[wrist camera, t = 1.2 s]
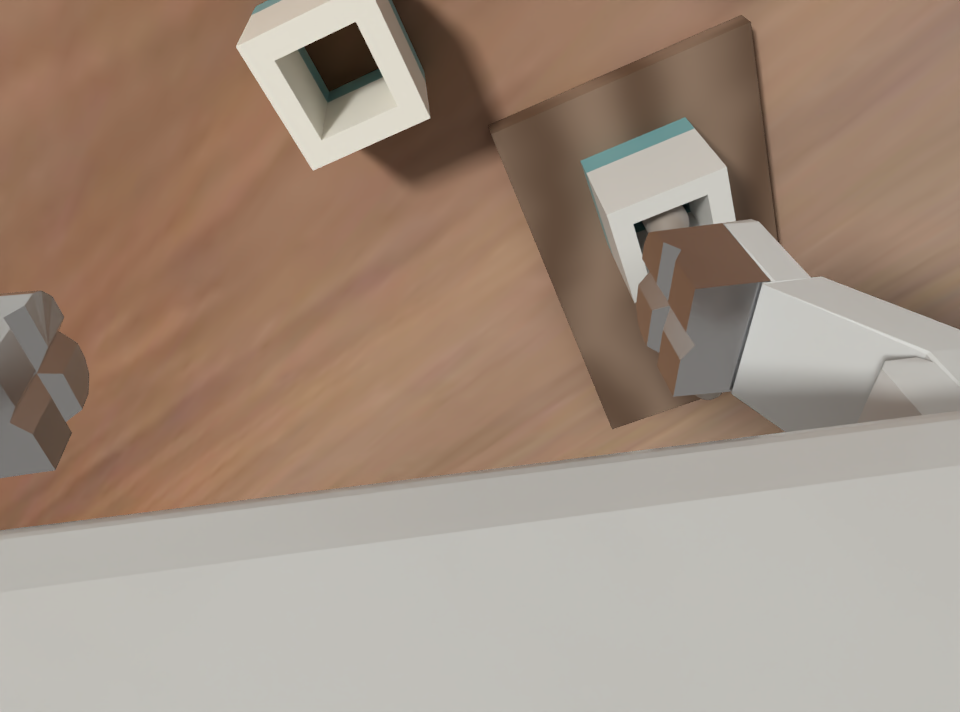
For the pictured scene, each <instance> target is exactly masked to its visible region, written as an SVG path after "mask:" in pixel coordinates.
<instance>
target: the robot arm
mask: <svg viewBox="0 0 960 712" xmlns="http://www.w3.org/2000/svg"><path fill="white" fill-rule="evenodd" d="M642 260H643V261H644V263H645V265H646V266H647V268H648V270H649V273H648V274H647V275H646V276H645V278H644V279H643V280H642V281H641V282H640V283H639V285H638V292H637V302H636V307H637V320H638V325H639V328H640V332H641V335H642V337H643V339H644V341H645V343H646V345H647V346H648V347H650V348H651V349H653V350H655V351H657V352H658V353H659V357H658V363H657V367H658V369H659V371H660V373H661V374H662V376H663V378H664V380H665V382H666V384H667V386H668V388H669V390H670V392H671V393H672V395H673V397H676V396H686V395H697V394H708V393H719V392H730V391H732V393H731V394H732V395H734V396H735V397H737V398H738V399H739V400H741V401H742V402H744V403H745V404H747V405H748V406H749V407H751V408H752V409H754V410H755V411H757V412H758V413H759V414H761V415H762V416H764V417H765V418H766V419H768V420H769V421H771V422H772V423H774V424H775V425H776V426H778V427H779V428H781V429H782V430H784V431H785V432H783V433H775V434H767V435H759V436H751V437H743V438H735V439H727V440H719V441H711V442H703V443H695V444H687V445H679V446H672V447H664V448H656V449H648V450H640V451H632V452H624V453H616V454H608V455H600V456H592V457H584V458H576V459H568V460H560V461H552V462H544V463H536V464H528V465H520V466H512V467H504V468H496V469H488V470H480V471H472V472H464V473H456V474H448V475H440V476H432V477H424V478H416V479H408V480H400V481H392V482H384V483H376V484H368V485H360V486H352V487H344V488H336V489H328V490H320V491H312V492H304V493H296V494H288V495H280V496H272V497H264V498H256V499H248V500H240V501H232V502H224V503H216V504H208V505H200V506H192V507H184V508H176V509H168V510H160V511H152V512H144V513H136V514H128V515H120V516H112V517H104V518H96V519H88V520H80V521H72V522H64V523H56V524H48V525H40V526H32V527H24V528H16V529H8V530H0V712H960V330H959V329H957V328H954V327H952V326H949V325H946V324H944V323H941V322H938V321H936V320H933V319H931V318H928V317H925V316H923V315H920V314H918V313H915V312H912V311H910V310H907V309H905V308H902V307H899V306H897V305H894V304H892V303H889V302H886V301H884V300H881V299H879V298H876V297H873V296H871V295H868V294H866V293H863V292H860V291H858V290H855V289H853V288H850V287H847V286H845V285H842V284H840V283H837V282H834V281H832V280H829V279H827V278H824V277H813V278H811V277H810V276H809V275H808V274H807V273H806V272H805V271H804V270H803V269H802V268H801V267H800V265H799V264H798V263H797V262H796V261H795V260H794V259H793V258H792V257H791V256H790V255H789V254H788V252H787V251H786V250H785V249H784V248H783V247H782V246H781V245H780V244H779V243H778V242H777V241H776V239H775V238H774V237H773V236H772V235H771V234H770V233H769V232H768V231H767V230H766V229H765V228H764V227H763V225H762V224H761V223H760V222H758V221H755V220H752V219H748V220H740V221H733V222H726V223H718V224H710V225H702V226H694V227H686V228H678V229H669V230H661V231H654V232H649V233H648V235H647V238H646V240H645V243H644V248H643V255H642ZM63 319H64V316H63V314H62V312H61V311H60V309H59V307H58V305H57V304H56V302H55V300H54V298H53V297H52V296H50V295H49V294H47V293H45V292H43V291H28V292H15V293H3V294H0V478H4V477H11V476H18V475H25V474H32V473H39V472H46V471H53V470H56V468H57V465H58V463H59V461H60V459H61V456H62V454H63V452H64V450H65V447H66V445H67V443H68V441H69V438H70V436H71V434H72V432H71V431H70V429H69V427H68V425H67V424H66V421H68V420H69V419H70V418H72V417H73V416H74V415H75V414H77V413H78V412H79V411H81V410H82V409H83V406H84V404H85V401H86V399H87V396H88V392H89V371H88V367H87V364H86V360H85V357H84V355H83V353H82V351H81V349H80V347H79V345H78V343H77V342H75V341H73V340H72V339H70V338H69V337H67V336H66V335H64V334H62V333H61V332H59V330H60V327H61V324H62V322H63Z"/></svg>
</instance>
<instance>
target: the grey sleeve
mask: <svg viewBox="0 0 960 712" xmlns="http://www.w3.org/2000/svg"><path fill="white" fill-rule="evenodd" d="M581 164H582V167H583V171H584V174H585V177H586V180H587V183H588V186H589V189H590V192H591V195H592V198H593V201H594V204H595V207H596V210H597V213H598V217H599V220H600V223H601V226H602V229H603V232H604V235H605V238H606V241H607V244H608V246H609V249H610V251H611V253H612V255H613V257H614V259H615V262H616V264H617V266H618V268H619V270H620V273H621V275H622V277H623V279H624V281H625V283H626V286H627V288H628V290H629V292H630V294H631V296H632V299H633V301H634V303H636V302H637V292H638V285H639V283H640V282H641V281H642V280H643V279H644V278H645V276H646V275H647V274H648V273H649V270H648V268H647V266H646V265H645V263H644V261H643V260H642V255H643V248H644V243H645V240H646V238H647V235H648V232H647V230H646V228H645V226H644V225H643V223H642V220H645V219H647V218H650V217H653V216H655V215H658V214H660V213H663V212H665V211H668V210H670V209H673V208H675V207H678V206H680V205H682V206H683V207H684V209H685V210H686V212H687V214H688V217H689V227H694V226H702V225H710V224H718V223H726V222H733V221H736V219H735V213H734V207H733V201H732V195H731V189H730V183H729V177H728V171H727V167H726V165H725V164H724V163H723V162H722V161H721V159H720V158H719V157H718V156H717V155H716V153H715V152H714V151H713V150H712V149H711V147H710V146H709V145H708V144H707V143H706V141H705V140H704V139H703V138H702V137H701V135H700V134H699V133H698V132H697V131H696V129H695V128H694V127H693V126H692V125H691V123H690V122H689V121H688V120H687V119H686V117H684V118H682V119H680V120H677V121H675V122H672V123H670V124H667V125H665V126H663V127H660V128H658V129H655V130H653V131H651V132H648V133H646V134H643V135H641V136H639V137H636V138H634V139H631V140H629V141H627V142H624V143H622V144H619V145H617V146H615V147H612V148H610V149H607V150H605V151H603V152H600V153H598V154H595V155H593V156H591V157H588V158H586V159H583V160H581Z"/></svg>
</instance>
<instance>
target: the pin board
mask: <svg viewBox="0 0 960 712" xmlns="http://www.w3.org/2000/svg"><path fill="white" fill-rule="evenodd" d="M684 117H686V119H687V120H688V121H689V122H690V123H691V125H692V126H693V127H694V128H695V129H696V131H697V132H698V133H699V134H700V135H701V137H702V138H703V139H704V140H705V141H706V143H707V144H708V145H709V146H710V147H711V149H712V150H713V151H714V152H715V153H716V155H717V156H718V157H719V158H720V159H721V161H722V162H723V163H724V164H725V165H726V167H727V171H728V177H729V183H730V189H731V195H732V201H733V207H734V213H735V219H736V221H740V220H748V219H752V220H755V221H758V222H760V223H761V224H762V225H763V227H764V228H765V229H766V230H767V231H768V232H769V233H770V234H771V235H772V236H773V237H774V238H775V239H776V241H777V233H776V224H775V216H774V208H773V200H772V192H771V184H770V176H769V168H768V160H767V151H766V143H765V135H764V127H763V119H762V111H761V103H760V95H759V86H758V78H757V70H756V62H755V54H754V46H753V38H752V30H751V22H750V21H749V20H747V19H746V18H744V17H743V16H742V15H740V16H738V17H736V18H733V19H731V20H729V21H727V22H724V23H722V24H720V25H717V26H715V27H713V28H710V29H708V30H706V31H704V32H701V33H699V34H697V35H694V36H692V37H690V38H688V39H685V40H683V41H681V42H678V43H676V44H674V45H672V46H669V47H667V48H665V49H662V50H660V51H658V52H655V53H653V54H651V55H649V56H646V57H644V58H642V59H639V60H637V61H635V62H633V63H630V64H628V65H626V66H623V67H621V68H619V69H616V70H614V71H612V72H610V73H607V74H605V75H603V76H600V77H598V78H596V79H594V80H591V81H589V82H587V83H584V84H582V85H580V86H578V87H575V88H573V89H571V90H568V91H566V92H564V93H561V94H559V95H557V96H555V97H552V98H550V99H548V100H545V101H543V102H541V103H539V104H536V105H534V106H532V107H529V108H527V109H525V110H522V111H520V112H518V113H516V114H513V115H511V116H509V117H506V118H504V119H502V120H500V121H497V122H495V123H493V124H490V125H489V129H490V132H491V135H492V138H493V140H494V143H495V145H496V148H497V150H498V152H499V155H500V157H501V160H502V162H503V165H504V167H505V169H506V172H507V174H508V177H509V179H510V182H511V184H512V186H513V189H514V191H515V194H516V196H517V199H518V201H519V203H520V206H521V208H522V211H523V213H524V216H525V218H526V221H527V223H528V225H529V228H530V230H531V233H532V235H533V238H534V240H535V242H536V245H537V247H538V250H539V252H540V255H541V257H542V259H543V262H544V264H545V267H546V269H547V272H548V274H549V276H550V279H551V281H552V284H553V286H554V289H555V291H556V294H557V296H558V298H559V301H560V303H561V306H562V308H563V311H564V313H565V315H566V318H567V320H568V323H569V325H570V328H571V330H572V332H573V335H574V337H575V340H576V342H577V345H578V347H579V349H580V352H581V354H582V357H583V359H584V362H585V364H586V366H587V369H588V371H589V374H590V376H591V379H592V381H593V384H594V386H595V388H596V391H597V393H598V396H599V398H600V401H601V403H602V405H603V408H604V410H605V413H606V415H607V418H608V420H609V422H610V425H611V427H612V429H614V428H617V427H620V426H623V425H626V424H629V423H632V422H635V421H638V420H641V419H644V418H646V417H649V416H652V415H655V414H658V413H661V412H664V411H667V410H670V409H673V408H676V407H678V406H681V405H684V404H687V403H690V402H693V401H696V400H699V399H705V400H711V399H714V398H717V397H718V396H720V395H721V393H722V392H719V393H708V394H697V395H686V396H676V397H673V395H672V393H671V392H670V390H669V388H668V386H667V384H666V382H665V380H664V378H663V376H662V374H661V373H660V371H659V369H658V367H657V363H658V357H659V353H658V352H657V351H655V350H653V349H651V348H650V347H648V346H647V345H646V343H645V341H644V339H643V337H642V335H641V332H640V328H639V325H638V320H637V307H636V303H634V301H633V299H632V296H631V294H630V292H629V290H628V288H627V286H626V283H625V281H624V279H623V277H622V275H621V273H620V270H619V268H618V266H617V264H616V262H615V259H614V257H613V255H612V253H611V251H610V249H609V246H608V244H607V241H606V238H605V235H604V232H603V229H602V226H601V223H600V220H599V217H598V213H597V210H596V207H595V204H594V201H593V198H592V195H591V192H590V189H589V186H588V183H587V180H586V177H585V174H584V171H583V167H582V164H581V160H583V159H586V158H588V157H591V156H593V155H595V154H598V153H600V152H603V151H605V150H607V149H610V148H612V147H615V146H617V145H619V144H622V143H624V142H627V141H629V140H631V139H634V138H636V137H639V136H641V135H643V134H646V133H648V132H651V131H653V130H655V129H658V128H660V127H663V126H665V125H667V124H670V123H672V122H675V121H677V120H680V119H682V118H684ZM642 223H643V225H644V226H645V228H646V230H647V232H648V233H649V232H654V231H661V230H669V229H678V228H686V227H689V217H688V214H687V212H686V210H685V209H684V207H683V206H682V205H680V206H678V207H675V208H673V209H670V210H668V211H665V212H663V213H660V214H658V215H655V216H653V217H650V218H647V219H645V220H642ZM777 242H778V241H777Z"/></svg>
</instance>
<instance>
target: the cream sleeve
mask: <svg viewBox="0 0 960 712" xmlns="http://www.w3.org/2000/svg"><path fill="white" fill-rule="evenodd" d="M354 22H356V23H357V25H358V27H359V29H360V31H361V33H362V35H363V37H364V39H365V41H366V43H367V45H368V47H369V49H370V52H371V54H372V56H373V58H374V60H375V62H376V64H377V66H378V68H379V69H377V70H375V71H372V72H370V73H368V74H366V75H364V76H362V77H360V78H357V79H355V80H353V81H351V82H349V83H347V84H345V85H342V86H340V87H338V88H336V89H334V90H332V91H329V90H328V89H327V87H326V85H325V83H324V81H323V80H322V78H321V76H320V74H319V72H318V71H317V69H316V67H315V65H314V63H313V62H312V60H311V58H310V56H309V54H308V53H307V51H306V49H305V47H304V46H306V45H308V44H310V43H313V42H315V41H317V40H319V39H321V38H323V37H325V36H327V35H329V34H331V33H333V32H335V31H337V30H340V29H342V28H344V27H346V26H348V25H350V24H352V23H354ZM236 48H237V49H238V51H239V52H240V54H241V56H242V57H243V59H244V60H245V62H246V64H247V65H248V67H249V69H250V70H251V72H252V73H253V75H254V77H255V78H256V80H257V81H258V83H259V85H260V86H261V88H262V89H263V91H264V93H265V94H266V96H267V97H268V99H269V101H270V102H271V104H272V105H273V107H274V109H275V110H276V112H277V114H278V115H279V117H280V118H281V120H282V122H283V123H284V125H285V126H286V128H287V130H288V131H289V133H290V134H291V136H292V138H293V139H294V141H295V142H296V144H297V146H298V147H299V149H300V150H301V152H302V154H303V155H304V157H305V159H306V160H307V162H308V163H309V165H310V167H311V168H312V170H315V169H317V168H320V167H322V166H324V165H326V164H329V163H331V162H333V161H335V160H338V159H340V158H342V157H344V156H347V155H349V154H351V153H353V152H356V151H358V150H360V149H362V148H365V147H367V146H369V145H371V144H374V143H376V142H378V141H380V140H383V139H385V138H387V137H389V136H392V135H394V134H396V133H398V132H401V131H403V130H405V129H407V128H410V127H412V126H414V125H416V124H419V123H421V122H423V121H425V120H428V119H430V111H429V103H428V96H427V88H426V81H425V73H424V70H423V68H422V66H421V64H420V61H419V59H418V57H417V55H416V52H415V50H414V48H413V46H412V44H411V41H410V39H409V37H408V35H407V33H406V30H405V28H404V26H403V24H402V21H401V19H400V17H399V15H398V13H397V10H396V8H395V6H394V4H393V2H392V0H268V1H266V2H264V3H262V4H260V5H258V6H256V7H255V9H254V11H253V13H252V15H251V17H250V19H249V21H248V23H247V25H246V27H245V29H244V31H243V33H242V35H241V37H240V39H239V41H238V43H237V45H236Z"/></svg>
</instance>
